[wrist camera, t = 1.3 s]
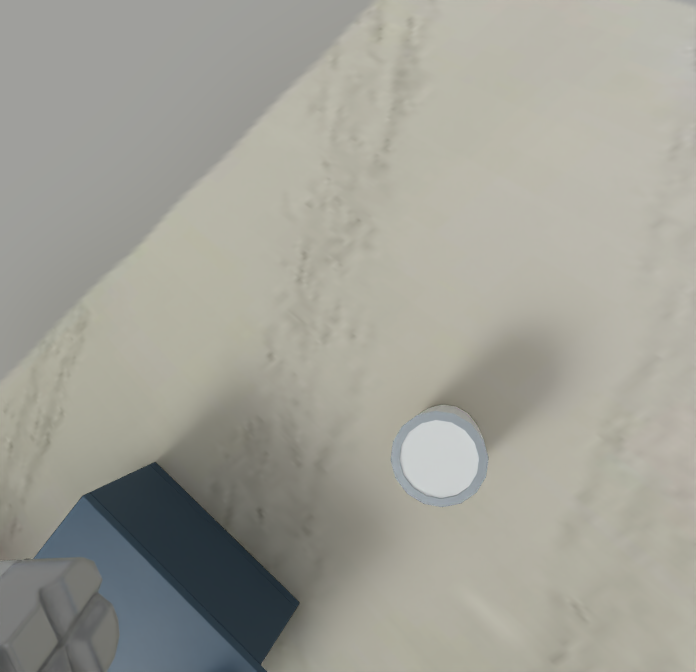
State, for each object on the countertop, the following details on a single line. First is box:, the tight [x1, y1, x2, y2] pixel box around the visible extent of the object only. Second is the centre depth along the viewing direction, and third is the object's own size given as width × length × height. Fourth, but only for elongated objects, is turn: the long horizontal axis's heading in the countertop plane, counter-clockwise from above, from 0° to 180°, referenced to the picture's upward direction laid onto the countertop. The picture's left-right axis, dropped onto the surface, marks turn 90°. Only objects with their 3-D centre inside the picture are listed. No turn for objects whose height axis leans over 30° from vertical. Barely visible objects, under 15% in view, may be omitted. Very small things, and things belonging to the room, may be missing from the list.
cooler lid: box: [33, 493, 267, 672], centre depth 44 cm, size 19×16×5 cm
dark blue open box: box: [90, 462, 299, 665], centre depth 52 cm, size 18×16×10 cm
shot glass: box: [391, 404, 488, 507], centre depth 47 cm, size 7×7×7 cm
